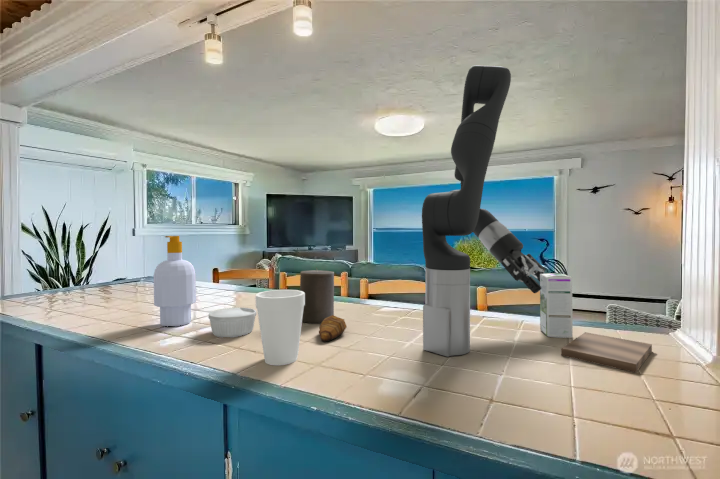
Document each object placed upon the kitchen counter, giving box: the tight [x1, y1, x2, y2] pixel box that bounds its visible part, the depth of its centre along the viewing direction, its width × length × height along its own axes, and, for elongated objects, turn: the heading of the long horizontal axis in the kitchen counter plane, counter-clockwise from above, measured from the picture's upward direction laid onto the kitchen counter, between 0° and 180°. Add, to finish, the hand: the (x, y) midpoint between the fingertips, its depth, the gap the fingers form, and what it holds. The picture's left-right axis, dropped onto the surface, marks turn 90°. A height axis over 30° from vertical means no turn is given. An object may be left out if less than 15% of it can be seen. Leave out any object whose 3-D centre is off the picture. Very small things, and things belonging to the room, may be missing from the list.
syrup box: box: [539, 272, 574, 339], centre depth 85 cm, size 6×6×14 cm
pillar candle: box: [299, 266, 335, 325], centre depth 101 cm, size 10×10×15 cm
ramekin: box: [207, 307, 257, 338], centre depth 89 cm, size 11×11×5 cm
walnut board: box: [560, 331, 653, 374], centre depth 72 cm, size 16×12×2 cm
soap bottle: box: [153, 235, 197, 328], centre depth 97 cm, size 10×10×24 cm
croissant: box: [318, 314, 347, 342], centre depth 86 cm, size 14×7×5 cm, turn 167°
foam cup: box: [255, 289, 305, 366], centre depth 69 cm, size 10×9×13 cm
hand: (545, 289), depth 87 cm, fingers open, 8 cm apart
